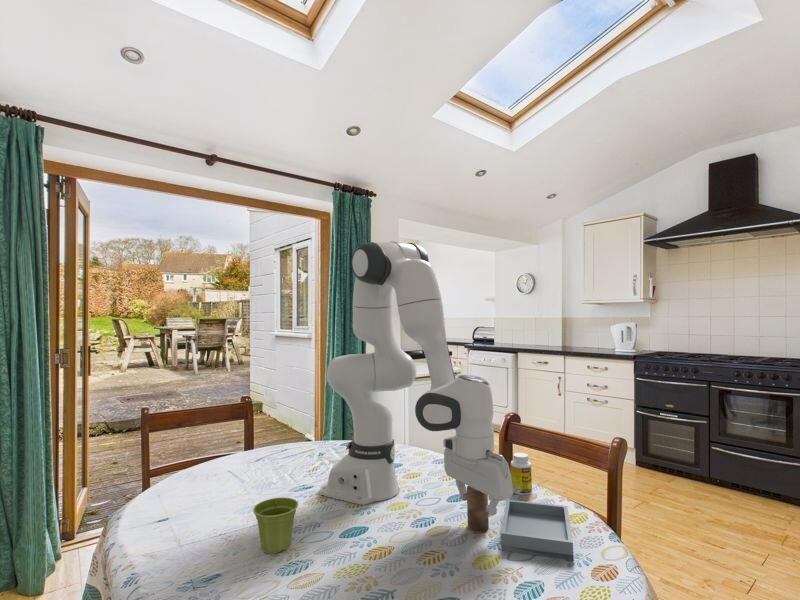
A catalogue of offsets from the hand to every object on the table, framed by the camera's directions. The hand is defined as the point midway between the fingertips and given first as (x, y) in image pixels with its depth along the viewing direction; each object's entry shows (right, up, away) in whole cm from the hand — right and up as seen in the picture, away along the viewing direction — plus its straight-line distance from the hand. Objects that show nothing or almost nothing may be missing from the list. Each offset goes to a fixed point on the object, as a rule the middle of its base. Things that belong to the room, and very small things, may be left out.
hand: (477, 506), depth 99 cm
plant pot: (-45, -6, -6) cm, 46 cm away
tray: (+13, -5, -3) cm, 14 cm away
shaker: (0, -5, +1) cm, 5 cm away
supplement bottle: (+16, -6, +20) cm, 26 cm away
